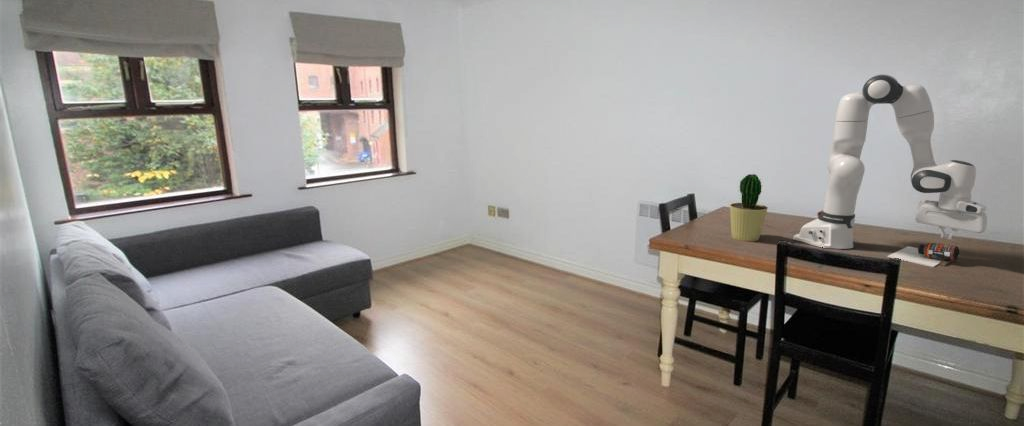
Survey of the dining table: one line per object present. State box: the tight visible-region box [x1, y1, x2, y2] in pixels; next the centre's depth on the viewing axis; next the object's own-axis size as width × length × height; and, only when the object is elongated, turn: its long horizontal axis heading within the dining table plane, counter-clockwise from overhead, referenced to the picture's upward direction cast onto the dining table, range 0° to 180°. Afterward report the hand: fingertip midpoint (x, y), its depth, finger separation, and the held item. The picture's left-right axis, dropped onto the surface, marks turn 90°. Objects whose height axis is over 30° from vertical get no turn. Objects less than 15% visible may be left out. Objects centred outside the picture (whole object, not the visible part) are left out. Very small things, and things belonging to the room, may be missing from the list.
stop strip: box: [938, 260, 953, 267], centre depth 186 cm, size 2×12×1 cm, turn 124°
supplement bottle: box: [917, 242, 960, 262], centre depth 188 cm, size 6×6×11 cm
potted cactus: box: [729, 173, 768, 242], centre depth 217 cm, size 15×15×30 cm
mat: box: [886, 245, 943, 268], centre depth 193 cm, size 15×22×1 cm, turn 124°
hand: (946, 238), depth 185 cm, fingers closed
